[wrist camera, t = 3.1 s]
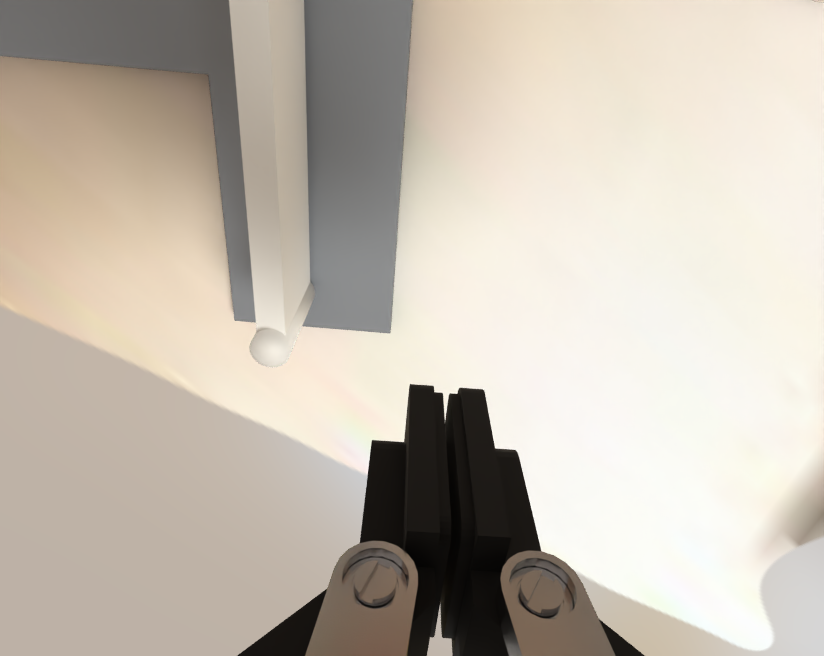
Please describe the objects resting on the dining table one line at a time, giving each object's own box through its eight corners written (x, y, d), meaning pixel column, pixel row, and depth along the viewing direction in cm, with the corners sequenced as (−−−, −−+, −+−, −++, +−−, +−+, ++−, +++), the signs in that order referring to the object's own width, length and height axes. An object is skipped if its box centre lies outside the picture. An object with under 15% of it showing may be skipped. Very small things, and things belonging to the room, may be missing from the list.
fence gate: (266, -19, 17) (214, -32, 13) (310, -15, 17) (271, -27, 13) (282, 304, 23) (251, 365, 19) (315, 307, 23) (290, 369, 19)
